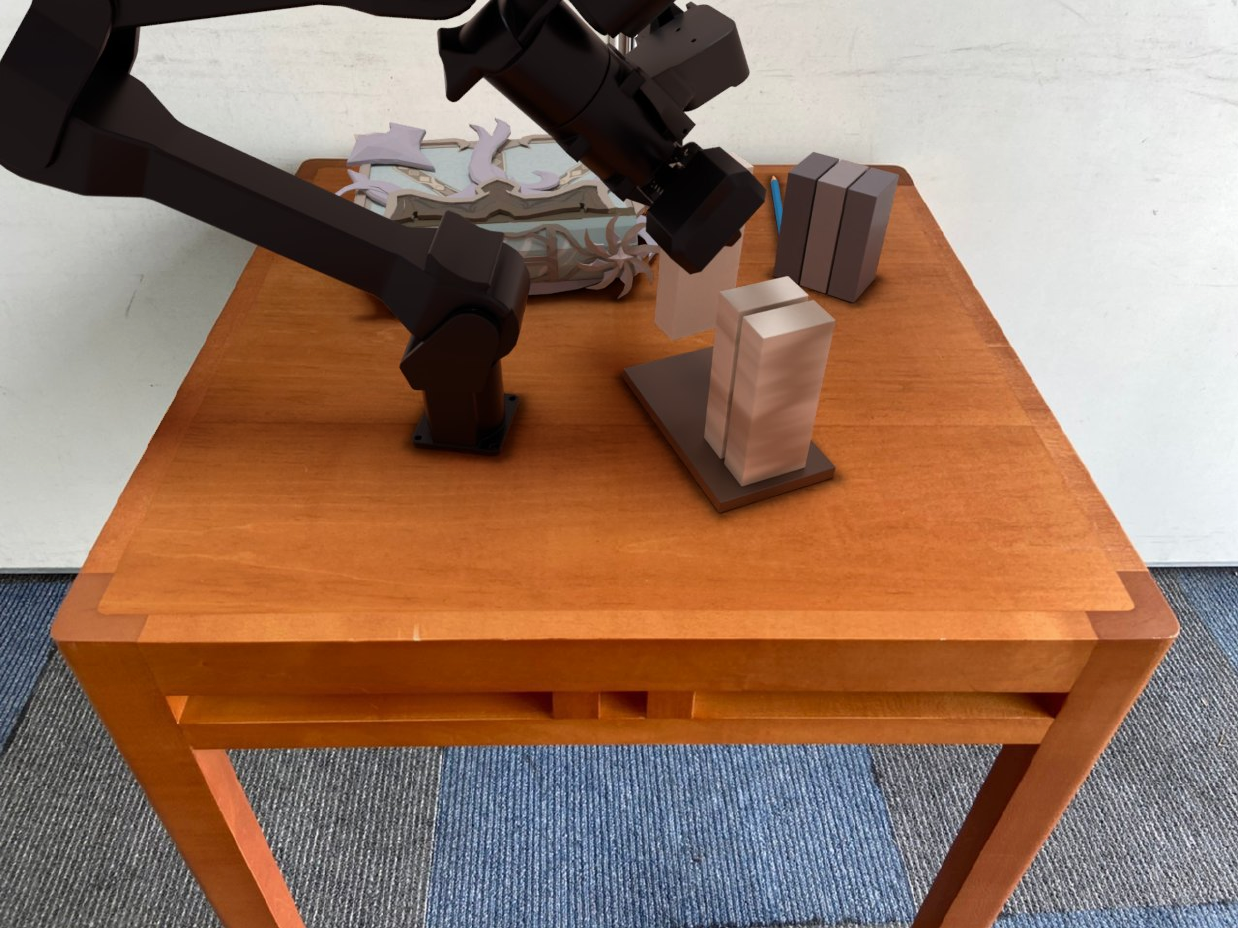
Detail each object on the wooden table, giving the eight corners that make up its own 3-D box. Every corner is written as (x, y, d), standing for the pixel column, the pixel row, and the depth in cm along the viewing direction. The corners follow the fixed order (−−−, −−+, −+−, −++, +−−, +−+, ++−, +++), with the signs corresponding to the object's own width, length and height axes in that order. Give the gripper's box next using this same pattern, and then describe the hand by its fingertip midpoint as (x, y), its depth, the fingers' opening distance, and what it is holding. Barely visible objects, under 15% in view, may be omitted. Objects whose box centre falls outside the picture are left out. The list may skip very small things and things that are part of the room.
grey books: (853, 303, 79) (877, 196, 73) (772, 276, 82) (788, 171, 76) (875, 279, 82) (899, 174, 76) (796, 253, 86) (813, 151, 79)
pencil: (781, 258, 85) (782, 252, 85) (769, 178, 98) (769, 172, 97) (790, 258, 85) (791, 252, 85) (776, 178, 98) (777, 172, 97)
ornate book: (345, 333, 76) (694, 300, 79) (317, 229, 70) (698, 197, 72) (363, 210, 93) (651, 185, 95) (341, 116, 86) (652, 93, 89)
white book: (671, 341, 64) (687, 180, 56) (653, 323, 65) (666, 164, 57) (730, 324, 66) (754, 166, 58) (711, 307, 67) (732, 150, 59)
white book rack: (718, 513, 60) (739, 353, 51) (622, 378, 71) (625, 226, 62) (833, 477, 63) (871, 319, 54) (724, 353, 74) (741, 204, 65)
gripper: (756, 13, 42) (897, 196, 53) (601, -77, 55) (741, 86, 65) (598, 199, 45) (763, 337, 56) (486, 73, 58) (638, 206, 68)
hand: (725, 230), depth 61 cm, fingers closed on white book, 3 cm apart
